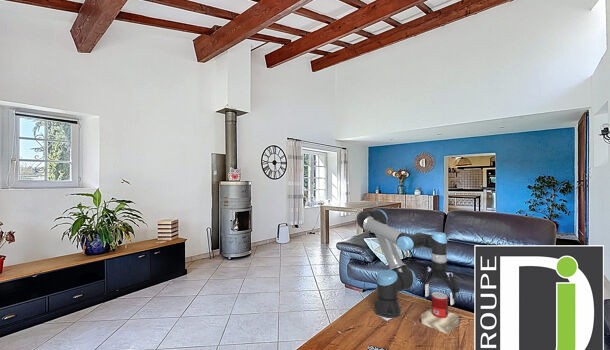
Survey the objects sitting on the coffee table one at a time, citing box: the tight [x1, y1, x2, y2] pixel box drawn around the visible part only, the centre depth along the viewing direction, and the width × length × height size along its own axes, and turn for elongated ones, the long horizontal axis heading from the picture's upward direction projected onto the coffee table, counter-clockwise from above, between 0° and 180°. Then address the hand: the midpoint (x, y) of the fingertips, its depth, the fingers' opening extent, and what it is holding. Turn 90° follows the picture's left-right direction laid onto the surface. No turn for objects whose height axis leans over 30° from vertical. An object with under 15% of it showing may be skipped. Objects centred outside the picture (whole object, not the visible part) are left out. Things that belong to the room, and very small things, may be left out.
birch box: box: [420, 307, 460, 335], centre depth 154 cm, size 14×14×5 cm
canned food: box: [431, 291, 449, 318], centre depth 154 cm, size 8×8×11 cm
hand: (439, 299), depth 154 cm, fingers open, 13 cm apart
